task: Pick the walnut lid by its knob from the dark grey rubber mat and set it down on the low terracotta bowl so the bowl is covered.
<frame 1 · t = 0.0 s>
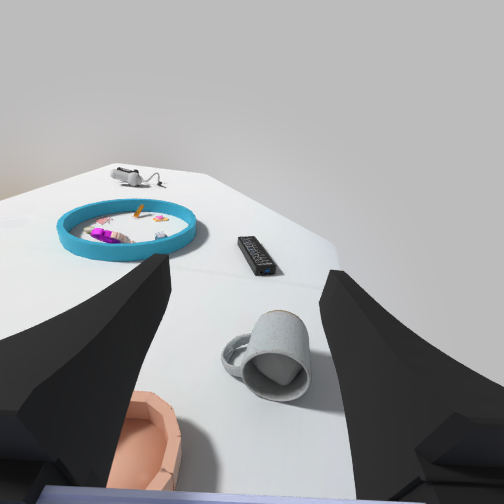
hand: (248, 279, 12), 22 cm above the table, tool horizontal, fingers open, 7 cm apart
teal ring: (134, 233, 64), on the table
clip-on lamp: (139, 184, 100), on the table
ceramic mug: (262, 371, 33), on the table
bowl: (120, 471, 22), on the table
multiport hub: (254, 259, 58), on the table
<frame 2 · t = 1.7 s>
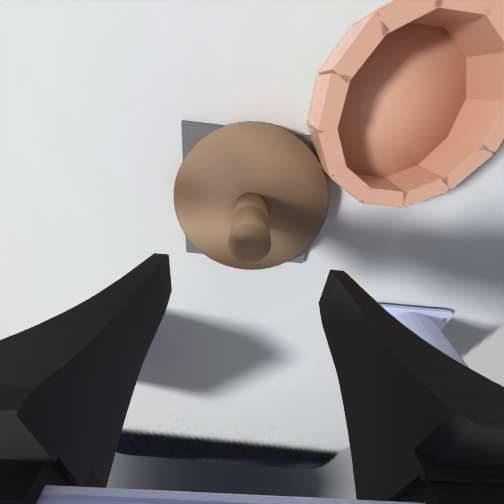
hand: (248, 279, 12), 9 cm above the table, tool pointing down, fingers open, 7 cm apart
lid: (251, 203, 19), resting on mat
mat: (251, 201, 20), on the table
bowl: (389, 109, 16), on the table
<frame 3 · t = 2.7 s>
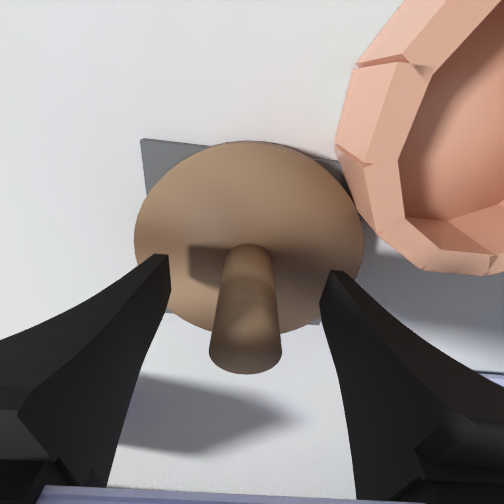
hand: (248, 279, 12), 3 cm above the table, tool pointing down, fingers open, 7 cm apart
lid: (248, 253, 13), resting on mat
mat: (249, 249, 14), on the table
bowl: (463, 122, 10), on the table
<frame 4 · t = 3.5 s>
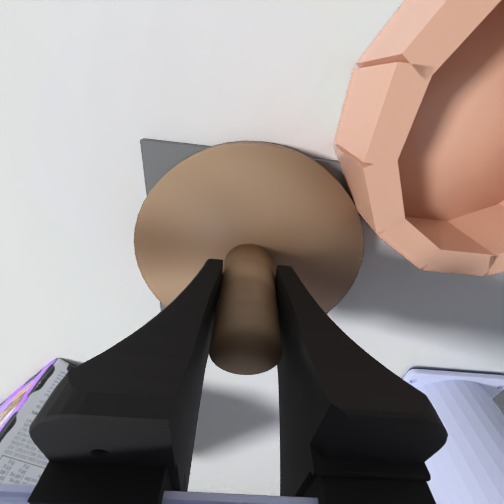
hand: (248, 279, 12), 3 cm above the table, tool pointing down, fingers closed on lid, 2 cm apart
lid: (249, 253, 13), resting on mat, touching gripper
mat: (249, 249, 14), on the table
bowl: (463, 122, 10), on the table
candy box: (51, 398, 23), on the table
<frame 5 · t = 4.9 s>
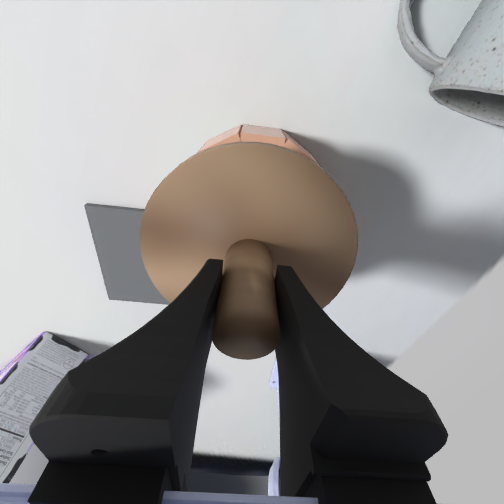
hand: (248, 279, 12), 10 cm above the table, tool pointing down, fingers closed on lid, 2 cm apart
lid: (248, 249, 14), point 7 cm above the table, touching gripper
mat: (156, 260, 23), on the table
ceramic mug: (477, 31, 15), on the table
bowl: (253, 197, 20), on the table
candy box: (42, 363, 32), on the table
when the fingers open (7 cm above the table, at t = 6.1 s): lid stays where it is, resting on bowl.
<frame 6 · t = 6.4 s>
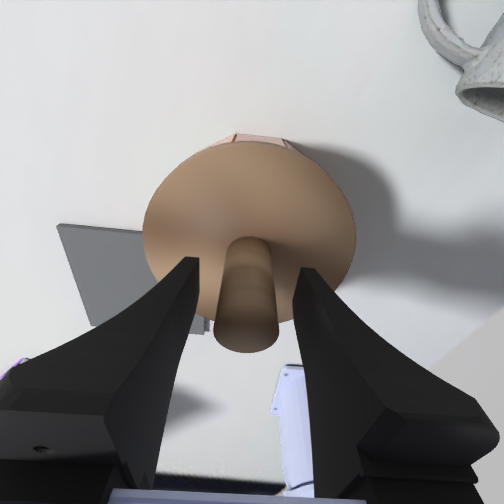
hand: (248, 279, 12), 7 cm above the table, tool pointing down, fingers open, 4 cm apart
lid: (249, 245, 14), point 3 cm above the table, touching bowl
mat: (142, 285, 21), on the table
bowl: (250, 216, 17), on the table
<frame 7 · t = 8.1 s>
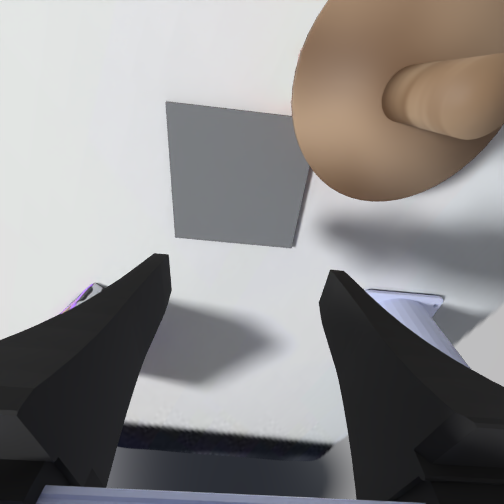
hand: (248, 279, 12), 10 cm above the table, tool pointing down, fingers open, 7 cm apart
lid: (397, 94, 13), point 3 cm above the table, touching bowl
mat: (238, 184, 20), on the table
candy box: (85, 325, 29), on the table
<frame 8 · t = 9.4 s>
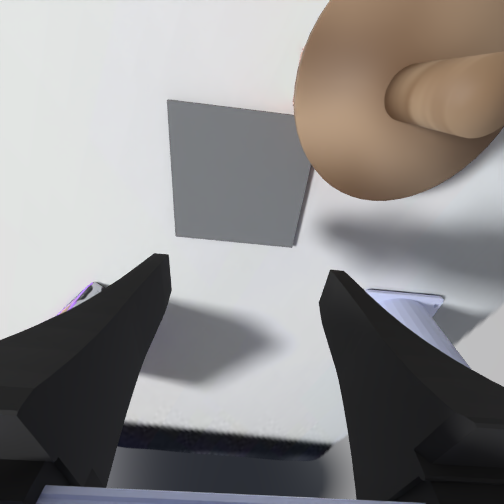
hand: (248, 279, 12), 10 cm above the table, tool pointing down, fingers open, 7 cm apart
lid: (400, 93, 13), point 3 cm above the table, touching bowl
mat: (239, 183, 20), on the table
candy box: (84, 324, 29), on the table
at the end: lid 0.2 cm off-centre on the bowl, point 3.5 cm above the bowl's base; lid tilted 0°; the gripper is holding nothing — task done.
